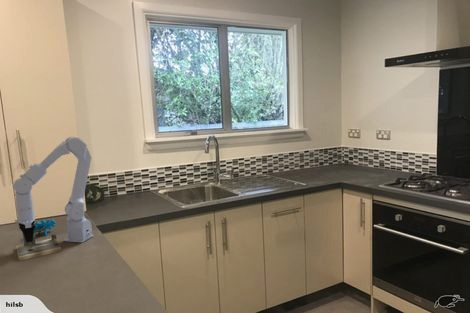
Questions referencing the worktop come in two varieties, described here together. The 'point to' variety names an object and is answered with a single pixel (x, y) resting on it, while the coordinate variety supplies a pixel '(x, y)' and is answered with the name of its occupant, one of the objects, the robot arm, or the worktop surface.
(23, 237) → the grey rectangular block
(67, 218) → the robot arm
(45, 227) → the blue bumpy figurine
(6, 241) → the worktop surface
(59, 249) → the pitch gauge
